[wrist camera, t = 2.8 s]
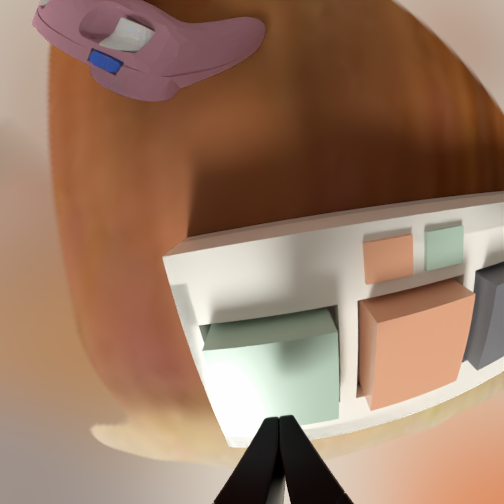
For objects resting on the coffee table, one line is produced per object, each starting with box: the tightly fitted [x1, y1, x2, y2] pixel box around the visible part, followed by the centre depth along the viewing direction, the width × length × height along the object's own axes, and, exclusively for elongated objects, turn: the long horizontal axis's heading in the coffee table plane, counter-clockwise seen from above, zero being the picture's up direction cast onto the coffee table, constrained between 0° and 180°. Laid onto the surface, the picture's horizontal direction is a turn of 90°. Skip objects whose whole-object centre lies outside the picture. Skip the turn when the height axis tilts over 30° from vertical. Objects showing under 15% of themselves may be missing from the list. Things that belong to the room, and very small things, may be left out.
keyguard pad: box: [162, 191, 504, 448], centre depth 11 cm, size 17×10×3 cm, turn 101°
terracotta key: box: [358, 278, 476, 411], centre depth 9 cm, size 4×4×2 cm
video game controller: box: [32, 0, 266, 102], centre depth 7 cm, size 10×5×7 cm, turn 46°
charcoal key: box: [464, 261, 504, 371], centre depth 9 cm, size 4×4×2 cm
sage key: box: [202, 307, 339, 432], centre depth 10 cm, size 4×4×2 cm
